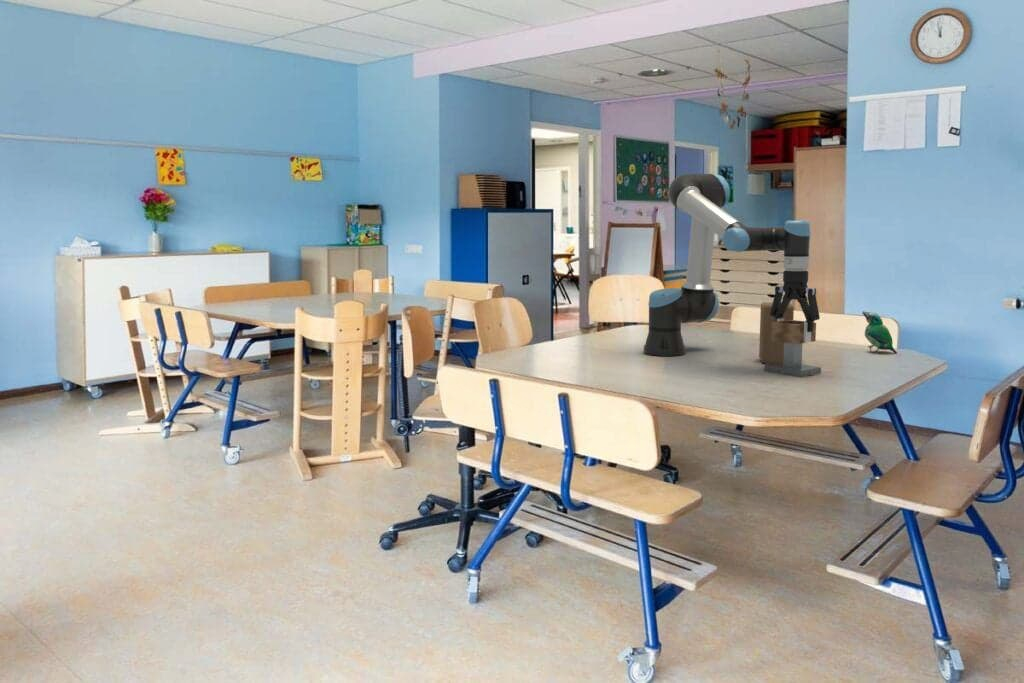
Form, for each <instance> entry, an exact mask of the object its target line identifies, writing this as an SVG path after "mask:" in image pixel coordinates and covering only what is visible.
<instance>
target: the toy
mask: <svg viewBox="0 0 1024 683" xmlns="http://www.w3.org/2000/svg"><path fill="white" fill-rule="evenodd" d="M861 314H862V315H863V316H864V317H865V320H866V322H867V323H868V324H867V325H865V326H866V327H865V330H864V337H865V338H866V340H867V341H868V342H869V343H870V344H871V345H867V348H869V350H870V352H871V351H872V348H873V347H875V348H876V350H874V351H873V352H874V353H876V354H878V353H879V352H878V351H879V350H884V351H887V350H888V351H891V352H893V353H894V354H897V353H898V352H897V351H896V349H894V347H893V337H892V335H891V332H890V330H889V328H888V327H887V326H886V325H884V323H883V319H882V318H881V316H880V314H878V313H876V312H871V311H869V312H868V311H864V310H863V311H862V313H861Z"/></svg>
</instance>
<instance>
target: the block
mask: <svg viewBox="0 0 1024 683" xmlns="http://www.w3.org/2000/svg"><path fill="white" fill-rule="evenodd" d="M772 304H773V301H768V302H767V301H763V302H761V303H760V315H759V316H760V317H759V321H760V322H759V324H760V325H759V347H758V349H759V352H758V353H759V355H758V357H759V360H760V361H761V363H763V364H771V363H777V362H783V355H784V342H777V341H772V322H775V317H774V316H771V315H770V312H771V308H772ZM794 310H795V307H794V305H793V304H792V303H791V302H790V303H789V305H788V307H787V309H786V311H785V313H784V315H783V318H785V319H784V321H786V320H794V313H795V312H794Z"/></svg>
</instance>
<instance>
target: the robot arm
mask: <svg viewBox="0 0 1024 683" xmlns="http://www.w3.org/2000/svg"><path fill="white" fill-rule="evenodd" d="M668 187H669V188H668V199H669V201H670V204H671V205H672V206H673V207H675V208H676V209H677V210H679V211H680V212H681V213H688V214H689V215H690V216H691V224H690V234H689V245H688V246H689V247H688V254H687V255H688V258H687V270H686V279H685V281H684V282H683V283H682V284H681V288H677V287H675V288H674V287H670V288H662V289H656V290H654V291H652V292H651V293H650V294H649V298H648V333H647V337H646V339H645V344H644V345H643V354H645V355H647V356H648V355H649V356H656V357H676V356H683V355H686V349H687V348H686V346H685V345H684V344H685V343H684V340H683V335H682V324H689V323H703V322H708V321H710V320H712V319H713V318H714V317H715V316H716V315H717V314H718V310H719V306H720V300H719V298H718V294H717V292H715V291H714V288H715V287H714V286H713V284H711V274H712V264H713V254H714V244H715V234H716V235H717V236H719V237H720V238H721V239H722V242H723V245H724V247H725V249H726V250H727V251H729V252H734V253H735V252H736V253H742V252H754V251H755V252H756V251H757V252H759V251H760V252H761V251H762V252H764V251H783V269H784V271H782V272H783V273H782V281H783V285H778V286H777V285H776V286H775V287H774V297H773V301H772V302H773V304H772V308H771V312H770V315H771V316H774V317H775V322H778V321H784V319H785V318H783V315H784V313H785V311H786V309H787V307H788V305H789V303H790V304H791V301H792V300H795V301H797V302H798V303H799V305H800V308H801V309H802V310H801V311H802V313H803V315H804V318H805V321H806V322H804V343H803V344H806V343H807V342H808V343H812V342H811V332H813V324H814V322H815V321H819V320H820V312H819V307H818V300H817V289H816V287H812V288H811V287H808V282H809V271H808V270H809V268H810V266H809V265H810V238H811V227H810V221H808V220H786V221H785V222H784V226H772V225H771V226H754V227H753V226H752V227H751V226H750V227H749V226H747V225H745V224H743V223H742V222H741V221H739V219H736V218H735V217H734V216H732V215H730V213H728V212H727V211H725V210H724V209H723V207H725V206H726V205H727V204H728V202H729V200H730V196H731V190H730V186H729V183H728V181H727V179H725V177H724V176H722V175H720V174H716V173H714V174H713V173H684V174H680V175H678V176H677V177H675V178H674V179H673V180H672V182H671V183H670V185H669V186H668Z"/></svg>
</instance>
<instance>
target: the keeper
mask: <svg viewBox="0 0 1024 683" xmlns="http://www.w3.org/2000/svg"><path fill="white" fill-rule="evenodd" d="M802 362H803V343H801V344H792V343H784V355H783V362H777V363H764V366H763V368H764V370H763V372H768V373H775V374H780V373H781V374H780V375H785V374H786V375H787V376H793V377H797V378H803V377H804V376H805V377H809V375H810V376H814V374H815V375H820V374H821V373H822V372H821V371H822V370H821V369H822V366H816V365H810V364H803V363H802Z"/></svg>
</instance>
